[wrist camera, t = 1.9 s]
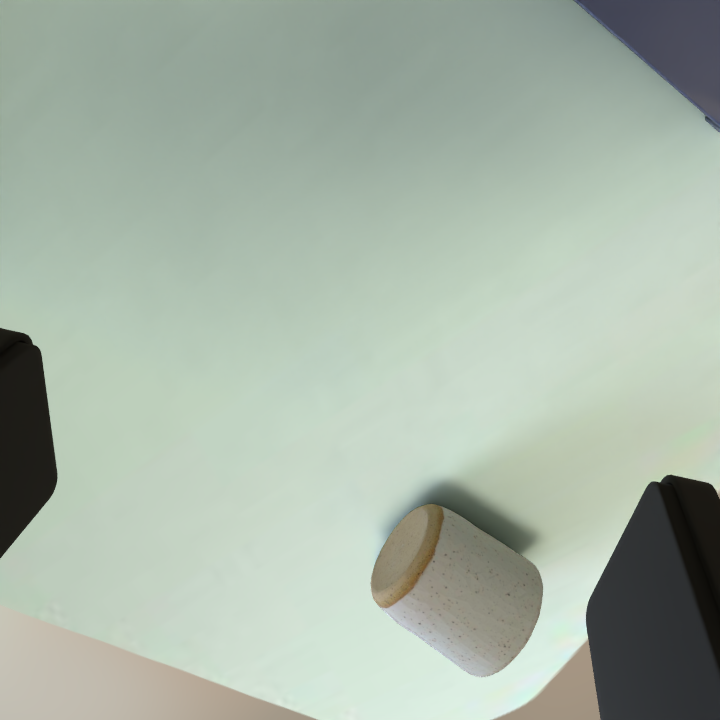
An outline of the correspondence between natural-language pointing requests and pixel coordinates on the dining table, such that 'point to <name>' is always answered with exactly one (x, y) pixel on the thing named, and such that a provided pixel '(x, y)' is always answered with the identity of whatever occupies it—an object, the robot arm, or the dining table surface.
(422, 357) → the dining table surface
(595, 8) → the sloping board
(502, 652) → the ceramic mug
